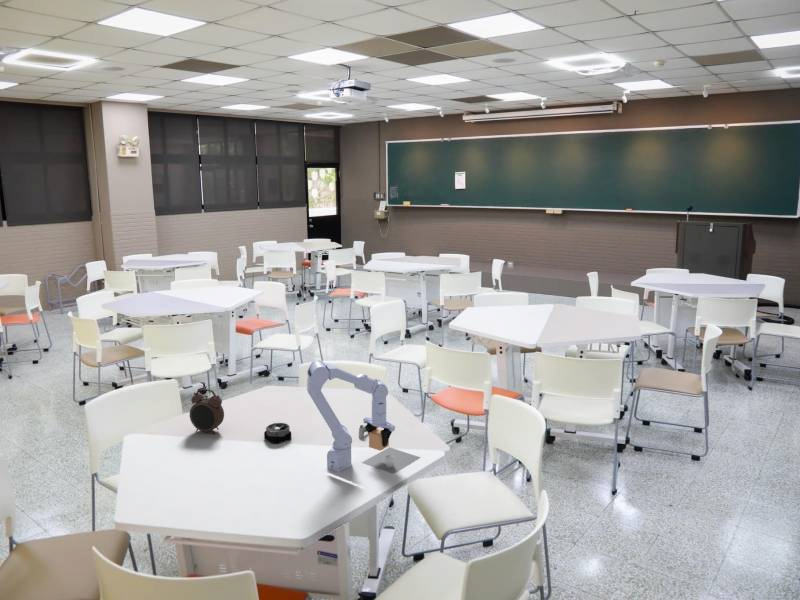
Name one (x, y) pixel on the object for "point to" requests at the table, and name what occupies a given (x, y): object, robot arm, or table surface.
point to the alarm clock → (206, 411)
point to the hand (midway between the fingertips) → (378, 443)
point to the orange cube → (376, 440)
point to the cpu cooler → (277, 433)
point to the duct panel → (398, 460)
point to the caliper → (362, 431)
